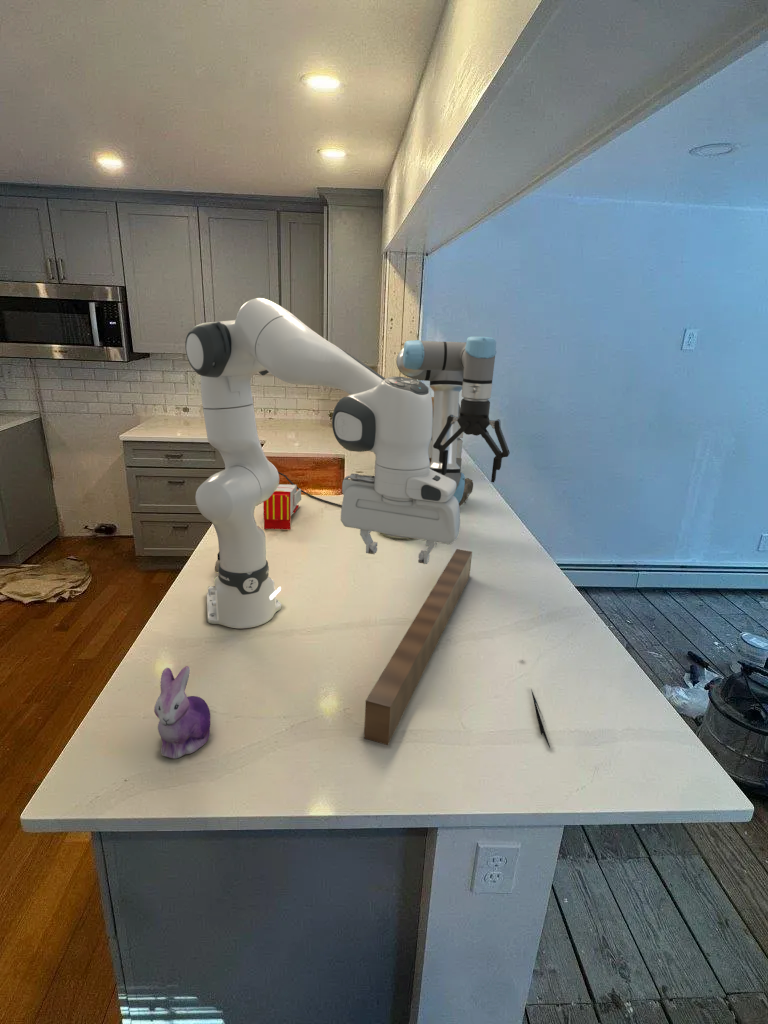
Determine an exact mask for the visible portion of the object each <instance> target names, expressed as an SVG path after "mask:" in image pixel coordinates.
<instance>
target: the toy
mask: <svg viewBox="0 0 768 1024" xmlns="http://www.w3.org/2000/svg"><path fill="white" fill-rule="evenodd" d="M297 487H298V485H297V484H295V485H292V484H280V483H279V485H278V487H277V489H276V490H275V491H274V493H273V494H272V495H271V496H270V498H268V499H267V500H266V501H264V502H262V503H263V530H286V531H287V530H288V531H290V530H291V517H292V515H293V514H295V513H296V511H298V508H299V506H300V505H299V503H300V502H301V501H302V492H301V490H302V488H300V489H299V490H298V489H297Z"/></svg>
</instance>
